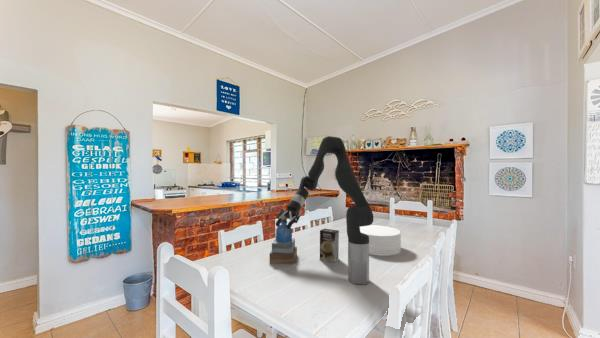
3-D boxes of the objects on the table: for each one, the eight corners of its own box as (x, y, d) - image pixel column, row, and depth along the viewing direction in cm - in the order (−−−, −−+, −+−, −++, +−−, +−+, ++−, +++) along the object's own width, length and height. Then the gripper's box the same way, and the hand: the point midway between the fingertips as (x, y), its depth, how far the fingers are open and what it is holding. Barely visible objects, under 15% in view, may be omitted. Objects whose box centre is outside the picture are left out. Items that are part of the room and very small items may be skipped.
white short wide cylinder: (368, 239, 179) (368, 223, 179) (408, 248, 159) (408, 230, 159) (345, 248, 159) (345, 230, 159) (387, 259, 139) (387, 238, 139)
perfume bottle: (283, 238, 144) (283, 217, 144) (291, 240, 139) (291, 219, 139) (276, 240, 139) (276, 219, 139) (284, 243, 135) (284, 220, 135)
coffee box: (319, 260, 138) (319, 230, 138) (323, 256, 143) (323, 228, 143) (335, 262, 133) (335, 232, 133) (339, 259, 139) (339, 229, 139)
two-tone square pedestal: (293, 263, 132) (293, 244, 132) (269, 262, 133) (269, 243, 133) (296, 255, 145) (296, 238, 145) (274, 254, 146) (274, 237, 146)
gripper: (284, 198, 149) (269, 221, 141) (302, 200, 140) (288, 224, 131) (290, 206, 153) (276, 228, 145) (308, 209, 144) (294, 233, 135)
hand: (282, 226), depth 138 cm, fingers open, 8 cm apart
